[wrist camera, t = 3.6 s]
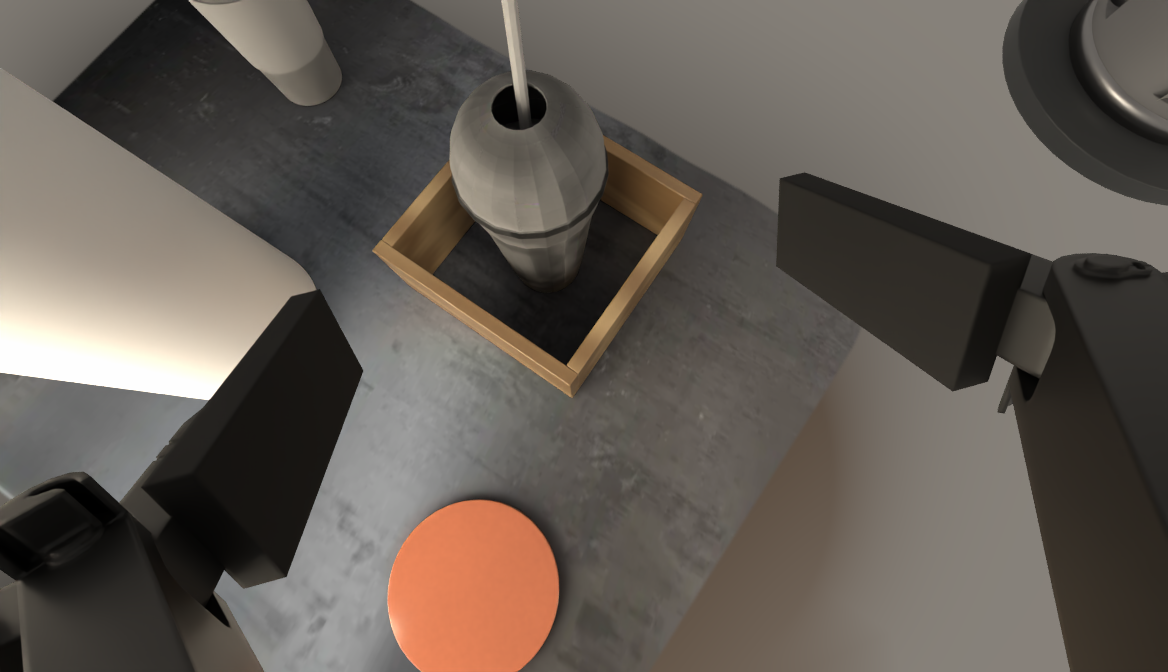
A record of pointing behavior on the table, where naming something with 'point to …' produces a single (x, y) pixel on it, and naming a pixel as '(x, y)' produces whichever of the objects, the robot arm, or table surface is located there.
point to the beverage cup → (530, 167)
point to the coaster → (473, 589)
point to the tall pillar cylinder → (120, 263)
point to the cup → (279, 44)
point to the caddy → (416, 257)
